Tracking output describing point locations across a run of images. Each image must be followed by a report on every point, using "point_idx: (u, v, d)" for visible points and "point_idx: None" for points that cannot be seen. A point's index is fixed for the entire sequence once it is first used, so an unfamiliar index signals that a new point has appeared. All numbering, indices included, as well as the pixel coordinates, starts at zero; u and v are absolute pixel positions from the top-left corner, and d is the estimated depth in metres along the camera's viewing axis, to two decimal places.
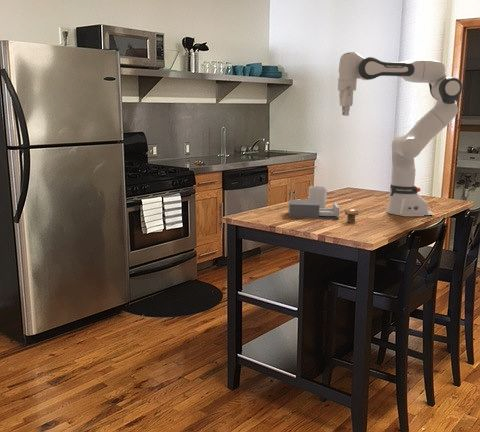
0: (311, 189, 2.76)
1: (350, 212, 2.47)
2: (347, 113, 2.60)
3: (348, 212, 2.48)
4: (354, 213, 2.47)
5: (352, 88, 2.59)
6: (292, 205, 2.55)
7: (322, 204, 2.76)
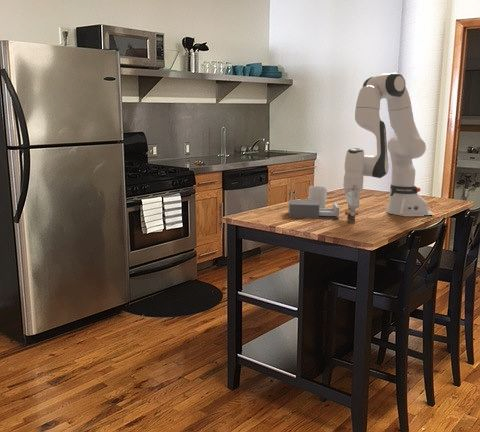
0: (311, 189, 2.76)
1: None
2: (353, 213, 2.45)
3: (348, 212, 2.48)
4: None
5: (359, 187, 2.44)
6: (292, 205, 2.55)
7: (322, 204, 2.76)
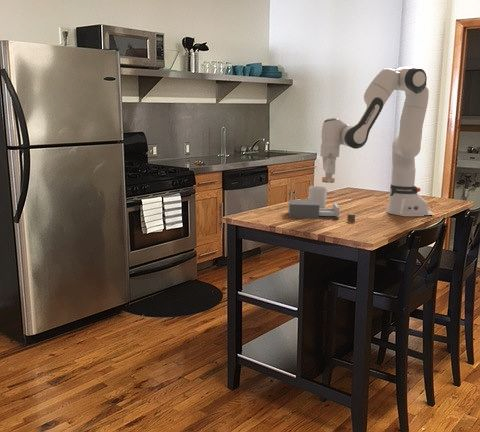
0: (311, 189, 2.76)
1: None
2: (329, 180, 2.54)
3: (325, 180, 2.56)
4: None
5: (335, 155, 2.52)
6: (292, 205, 2.55)
7: (322, 204, 2.76)
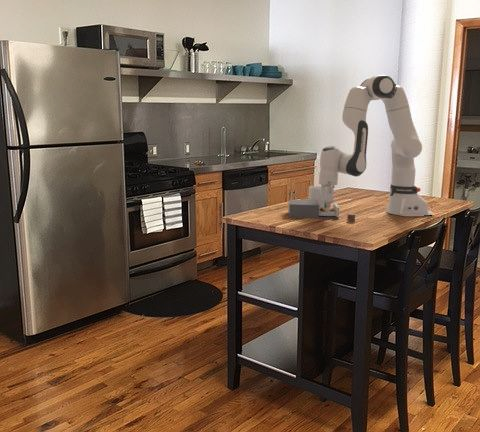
0: (311, 189, 2.76)
1: (325, 210, 2.59)
2: (328, 208, 2.56)
3: (323, 210, 2.59)
4: (329, 211, 2.59)
5: (333, 183, 2.55)
6: (292, 205, 2.55)
7: (322, 204, 2.76)
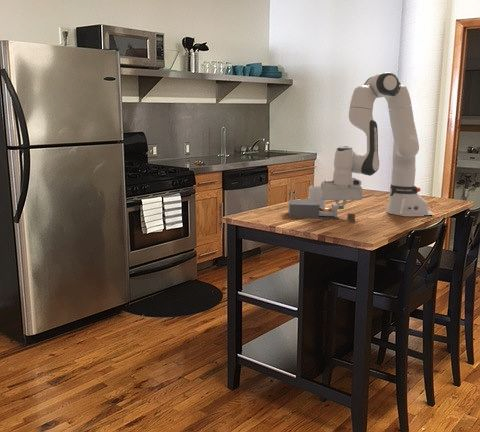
0: (311, 189, 2.76)
1: (323, 210, 2.59)
2: (337, 206, 2.60)
3: (322, 210, 2.59)
4: (327, 211, 2.59)
5: (335, 183, 2.56)
6: (292, 205, 2.55)
7: (322, 204, 2.76)
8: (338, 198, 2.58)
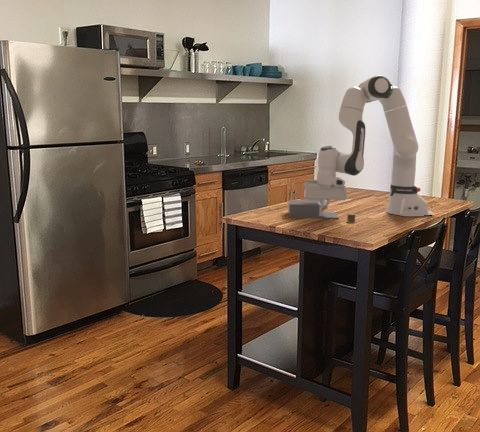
0: None
1: None
2: (322, 206, 2.61)
3: None
4: None
5: (318, 182, 2.56)
6: (292, 205, 2.55)
7: None
8: (321, 197, 2.58)
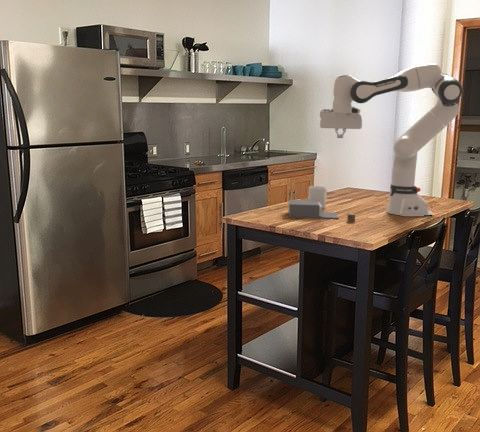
0: (311, 189, 2.76)
1: None
2: (337, 135, 2.65)
3: None
4: None
5: (334, 111, 2.60)
6: (292, 205, 2.55)
7: (322, 204, 2.76)
8: (337, 126, 2.62)
